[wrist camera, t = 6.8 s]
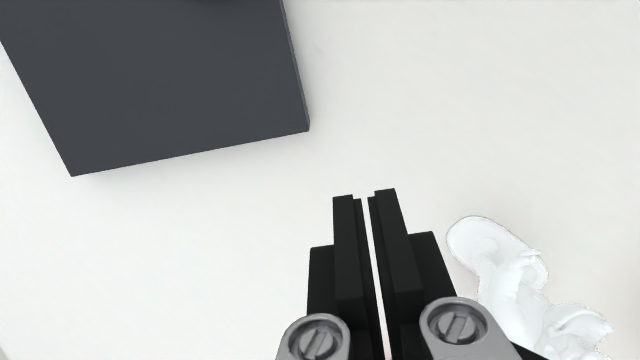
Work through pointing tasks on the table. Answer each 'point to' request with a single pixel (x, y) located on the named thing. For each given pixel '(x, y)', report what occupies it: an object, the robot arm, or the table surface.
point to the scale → (154, 76)
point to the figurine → (524, 294)
